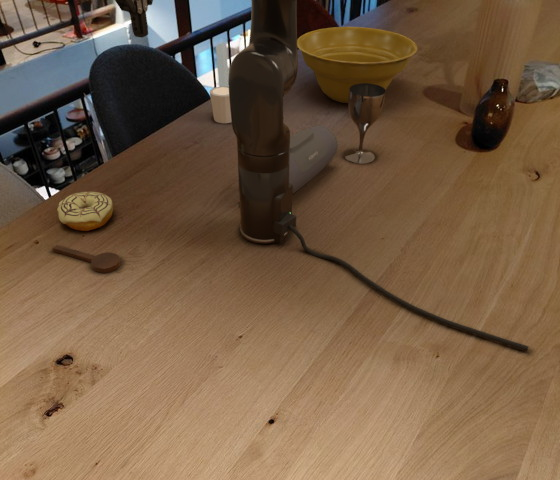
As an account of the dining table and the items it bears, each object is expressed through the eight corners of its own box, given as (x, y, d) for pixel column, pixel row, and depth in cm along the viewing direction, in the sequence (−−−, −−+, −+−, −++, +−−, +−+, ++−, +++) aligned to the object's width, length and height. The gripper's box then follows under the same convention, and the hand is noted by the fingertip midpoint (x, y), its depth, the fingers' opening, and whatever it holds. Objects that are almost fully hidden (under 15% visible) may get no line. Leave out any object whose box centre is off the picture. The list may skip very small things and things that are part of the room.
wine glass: (338, 160, 133) (344, 93, 122) (348, 146, 138) (355, 81, 127) (371, 166, 131) (380, 99, 120) (380, 152, 136) (389, 86, 125)
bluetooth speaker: (248, 153, 113) (249, 199, 120) (288, 165, 110) (287, 211, 117) (304, 114, 126) (302, 158, 134) (341, 124, 123) (338, 168, 130)
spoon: (126, 260, 104) (125, 256, 103) (110, 275, 101) (108, 271, 100) (63, 243, 108) (62, 238, 107) (46, 257, 105) (44, 252, 104)
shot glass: (234, 125, 146) (232, 97, 141) (208, 122, 147) (206, 94, 142) (240, 114, 151) (239, 87, 146) (215, 112, 152) (213, 84, 147)
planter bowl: (333, 67, 177) (337, 18, 167) (428, 91, 164) (437, 39, 154) (272, 99, 159) (272, 45, 149) (373, 128, 146) (380, 71, 136)
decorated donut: (55, 234, 110) (50, 216, 107) (67, 205, 117) (62, 188, 115) (110, 232, 110) (106, 215, 108) (117, 204, 118) (114, 187, 115)
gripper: (119, -78, 86) (138, 49, 98) (165, -90, 94) (177, 28, 107) (78, -82, 88) (102, 43, 100) (127, -93, 96) (143, 23, 109)
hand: (141, 35), depth 103 cm, fingers closed
